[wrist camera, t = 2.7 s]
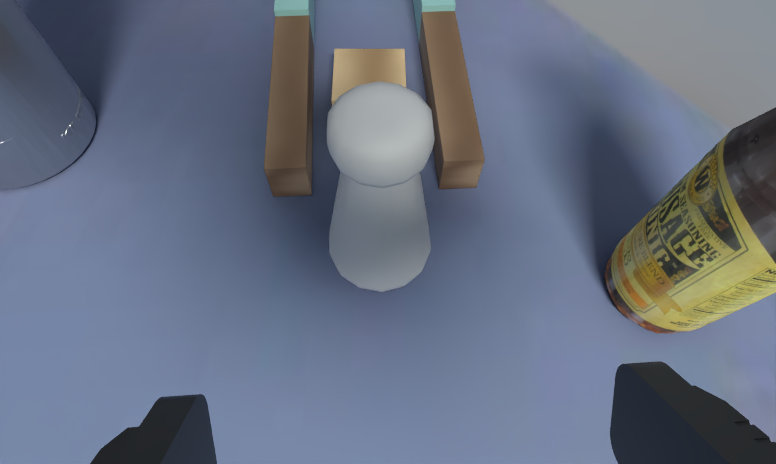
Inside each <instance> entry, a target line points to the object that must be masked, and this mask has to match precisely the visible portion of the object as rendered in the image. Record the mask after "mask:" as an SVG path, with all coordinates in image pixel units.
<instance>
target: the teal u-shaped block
mask: <svg viewBox="0 0 776 464" xmlns="http://www.w3.org/2000/svg"><path fill="white" fill-rule="evenodd" d="M413 6H414V13H415V20H416V27H417V35H418V42H419V38H420V26H421V14H422V12H435V11H455V6H456V4H455V0H413ZM274 13H275V16H304V15H309V17H310V24H311V31H312V38H313V44H314V21H315V0H275V4H274Z"/></svg>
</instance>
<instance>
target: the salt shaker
mask: <svg viewBox="0 0 776 464" xmlns="http://www.w3.org/2000/svg"><path fill="white" fill-rule="evenodd" d="M434 140H435V138H434V129H433V120H432V111H431V109H430V108H429V106H428V105H427V104H426V103H425V101H424V100H423V99H422V98H421V96H420V95H419V94H417V93H415V92H413V91H411V90H409V89H408V88H406V87H404V86H402V85H400V84H395V83H387V82H373V83H368V84H362V85H358V86H355V87H354V88H352V89H351V90H349V91H347V92H346V93H344V94H343V95H341V96H339V97H338V99H337V100H336V102H335V103H334V105H333V106H332V108H331V109H330V111H329V112H328V118H327V145H328V149H329V153H330V155H331V157H332V158H333V160H334V162H335V163H336V165H337V167H338V168H339V170H340V176H339V181H338V187H337V192H336V198H335V203H334V209H333V214H332V220H331V225H330V231H329V254H330V256H331V258H332V260H333V262H334V264H335V266H336V267H337V269H338V271H339V273H340V275H341V276H342V277H344V278H345V279H347V280H348V281H350V282H351V283H353V284H354V285H356V286H357V287H359V288H361V289H367V290H373V291H379V292H385V291H388V290H392V289H396V288H400V287H404V286H405V285H407V284H408V283H409V282H410V281H412V280H413V279H414V278H415V277H416V276H418V275H419V274H420V273H421V272H422V270H423V268H424V266H425V263H426V261H427V258H428V256H429V254H430V251H431V243H430V233H429V226H428V219H427V213H426V206H425V200H424V193H423V187H422V181H421V174H420V172H421V171H422V170H423V168H424V167H425V165H426V163H427V160H428V158H429V156H430V154H431V152H432V149H433V145H434Z"/></svg>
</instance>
